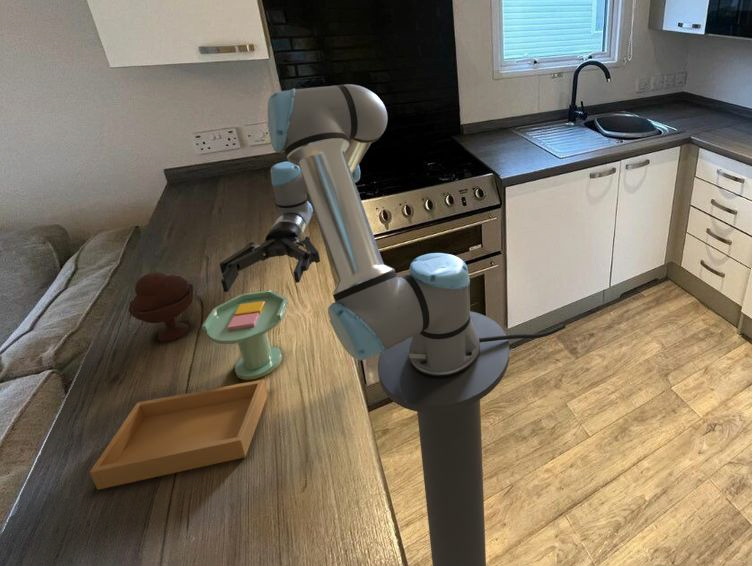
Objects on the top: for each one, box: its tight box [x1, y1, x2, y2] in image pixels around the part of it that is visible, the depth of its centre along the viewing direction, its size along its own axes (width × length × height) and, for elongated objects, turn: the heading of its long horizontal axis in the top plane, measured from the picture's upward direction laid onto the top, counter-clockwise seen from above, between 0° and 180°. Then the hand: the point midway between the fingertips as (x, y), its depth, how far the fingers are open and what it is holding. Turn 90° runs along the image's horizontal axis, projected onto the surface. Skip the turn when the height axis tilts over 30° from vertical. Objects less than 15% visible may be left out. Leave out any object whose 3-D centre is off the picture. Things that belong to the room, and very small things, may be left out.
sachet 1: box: [235, 301, 265, 316], centre depth 87 cm, size 4×3×1 cm
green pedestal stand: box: [201, 289, 288, 381], centre depth 87 cm, size 13×13×13 cm
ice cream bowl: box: [128, 271, 194, 343], centre depth 95 cm, size 11×11×15 cm
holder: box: [89, 378, 269, 490], centre depth 73 cm, size 20×13×4 cm, turn 106°
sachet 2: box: [227, 313, 259, 331], centre depth 83 cm, size 4×3×1 cm
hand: (261, 281), depth 93 cm, fingers open, 13 cm apart
